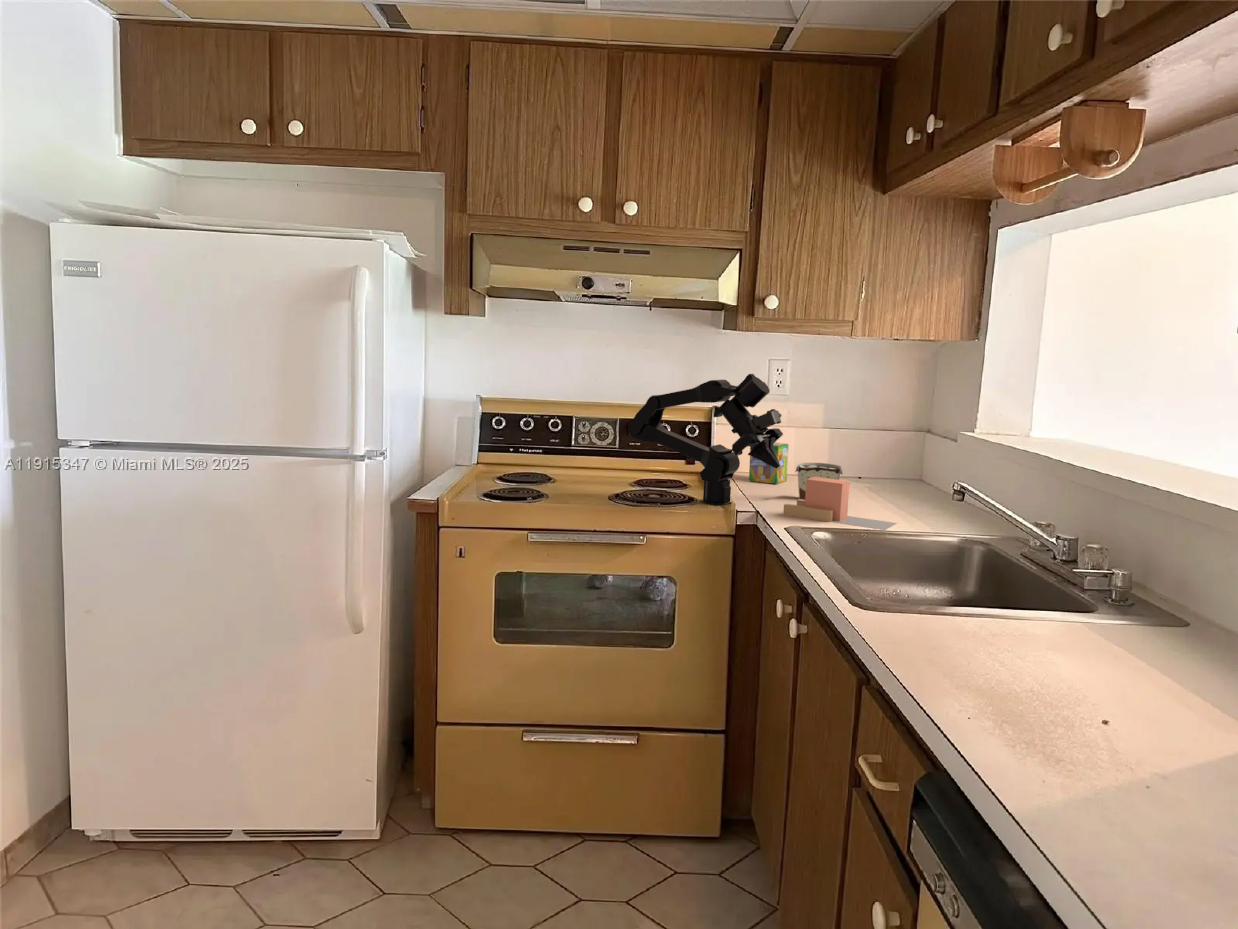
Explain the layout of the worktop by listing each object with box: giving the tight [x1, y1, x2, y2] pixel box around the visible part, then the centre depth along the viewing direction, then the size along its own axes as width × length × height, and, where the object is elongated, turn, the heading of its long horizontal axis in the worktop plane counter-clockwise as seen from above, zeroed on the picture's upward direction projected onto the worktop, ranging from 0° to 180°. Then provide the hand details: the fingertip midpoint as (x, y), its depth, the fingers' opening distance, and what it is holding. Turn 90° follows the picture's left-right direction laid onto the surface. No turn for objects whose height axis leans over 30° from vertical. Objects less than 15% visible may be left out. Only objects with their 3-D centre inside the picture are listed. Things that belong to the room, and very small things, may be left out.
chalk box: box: [748, 441, 789, 485], centre depth 271 cm, size 9×9×15 cm
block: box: [805, 477, 851, 521], centre depth 218 cm, size 9×5×9 cm, turn 56°
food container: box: [795, 462, 843, 500], centre depth 242 cm, size 12×6×10 cm, turn 84°
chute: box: [780, 498, 898, 531], centre depth 217 cm, size 26×10×3 cm, turn 56°
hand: (778, 467), depth 224 cm, fingers closed
